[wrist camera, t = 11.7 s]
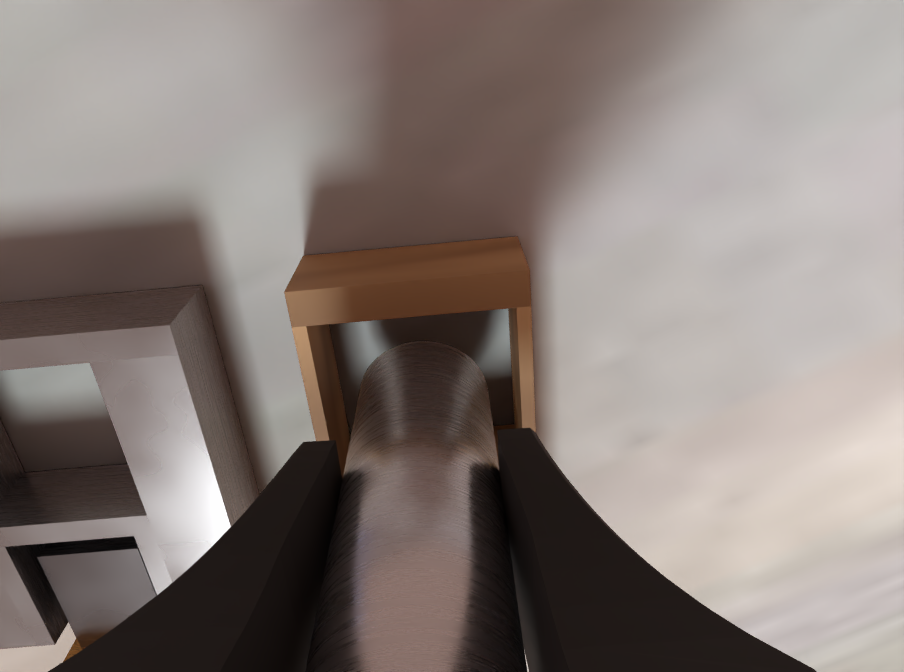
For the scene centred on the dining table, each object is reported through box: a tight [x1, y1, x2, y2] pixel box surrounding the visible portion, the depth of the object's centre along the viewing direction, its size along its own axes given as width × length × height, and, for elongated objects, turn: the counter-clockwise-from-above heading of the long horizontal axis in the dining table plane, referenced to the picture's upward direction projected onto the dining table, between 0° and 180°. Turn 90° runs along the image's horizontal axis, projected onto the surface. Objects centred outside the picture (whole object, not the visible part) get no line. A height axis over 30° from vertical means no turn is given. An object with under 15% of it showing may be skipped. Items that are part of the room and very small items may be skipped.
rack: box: [284, 236, 536, 479], centre depth 16 cm, size 11×5×4 cm, turn 5°
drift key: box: [37, 536, 157, 662], centre depth 18 cm, size 5×3×3 cm
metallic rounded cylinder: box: [305, 341, 527, 672], centre depth 12 cm, size 3×3×9 cm
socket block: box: [0, 285, 259, 649], centre depth 17 cm, size 9×8×2 cm
